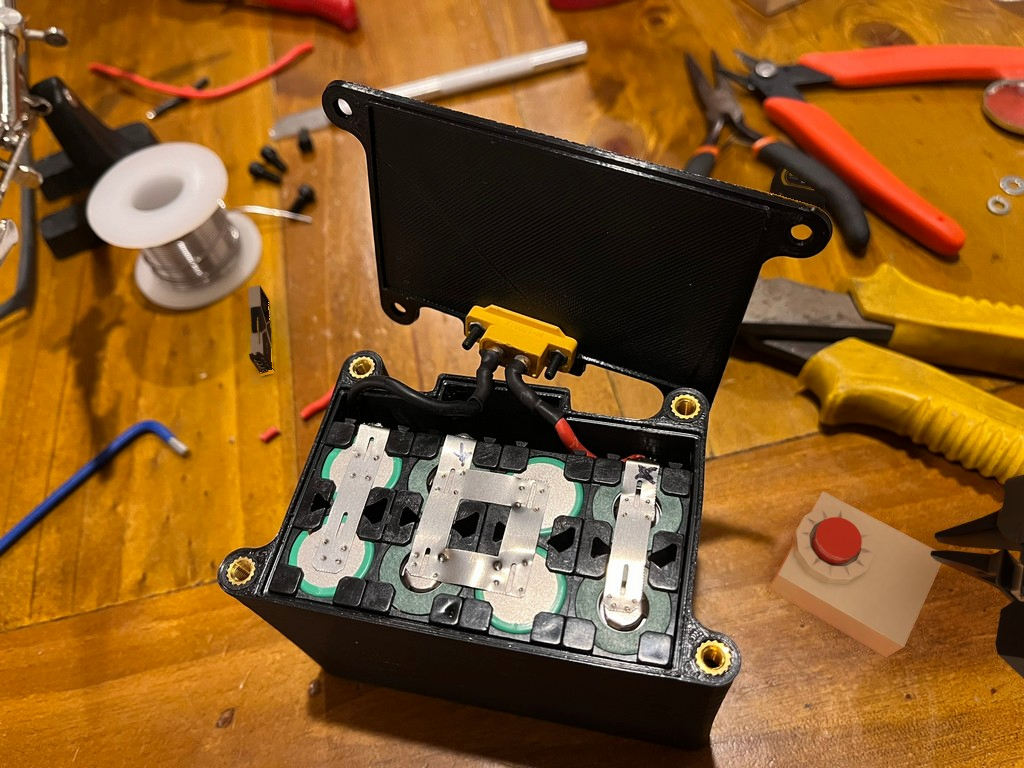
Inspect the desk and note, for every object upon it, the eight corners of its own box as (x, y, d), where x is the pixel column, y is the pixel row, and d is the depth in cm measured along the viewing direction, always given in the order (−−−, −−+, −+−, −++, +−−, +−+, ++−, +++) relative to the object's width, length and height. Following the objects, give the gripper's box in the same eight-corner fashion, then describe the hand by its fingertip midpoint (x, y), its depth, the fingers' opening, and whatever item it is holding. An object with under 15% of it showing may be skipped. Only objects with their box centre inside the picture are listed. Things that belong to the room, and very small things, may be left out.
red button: (863, 537, 73) (869, 531, 71) (846, 572, 71) (851, 567, 70) (823, 515, 74) (827, 509, 73) (804, 549, 73) (809, 543, 71)
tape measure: (765, 216, 101) (771, 196, 98) (770, 177, 104) (775, 156, 101) (820, 221, 99) (827, 201, 96) (823, 182, 103) (830, 161, 99)
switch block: (925, 570, 77) (953, 549, 71) (886, 657, 73) (911, 643, 67) (806, 506, 81) (822, 481, 75) (763, 586, 78) (777, 566, 72)
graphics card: (275, 375, 97) (271, 354, 93) (253, 377, 97) (248, 355, 93) (270, 302, 103) (266, 278, 99) (250, 303, 102) (245, 279, 98)
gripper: (1134, 377, 53) (908, 401, 65) (1106, 636, 45) (857, 606, 58) (1192, 463, 57) (970, 470, 70) (1176, 712, 49) (931, 669, 62)
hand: (934, 546), depth 65 cm, fingers closed
